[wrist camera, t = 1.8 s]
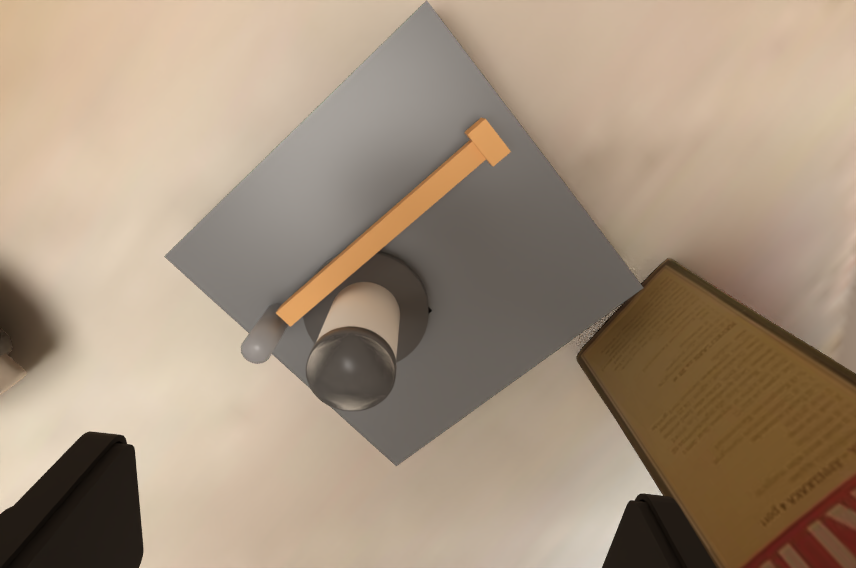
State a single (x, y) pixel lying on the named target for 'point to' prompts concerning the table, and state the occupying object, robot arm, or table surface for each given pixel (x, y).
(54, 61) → the table surface
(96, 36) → the table surface
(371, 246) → the orange peg
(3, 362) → the muzzle brake
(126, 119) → the table surface
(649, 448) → the food packaging
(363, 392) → the plug
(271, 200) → the plate
